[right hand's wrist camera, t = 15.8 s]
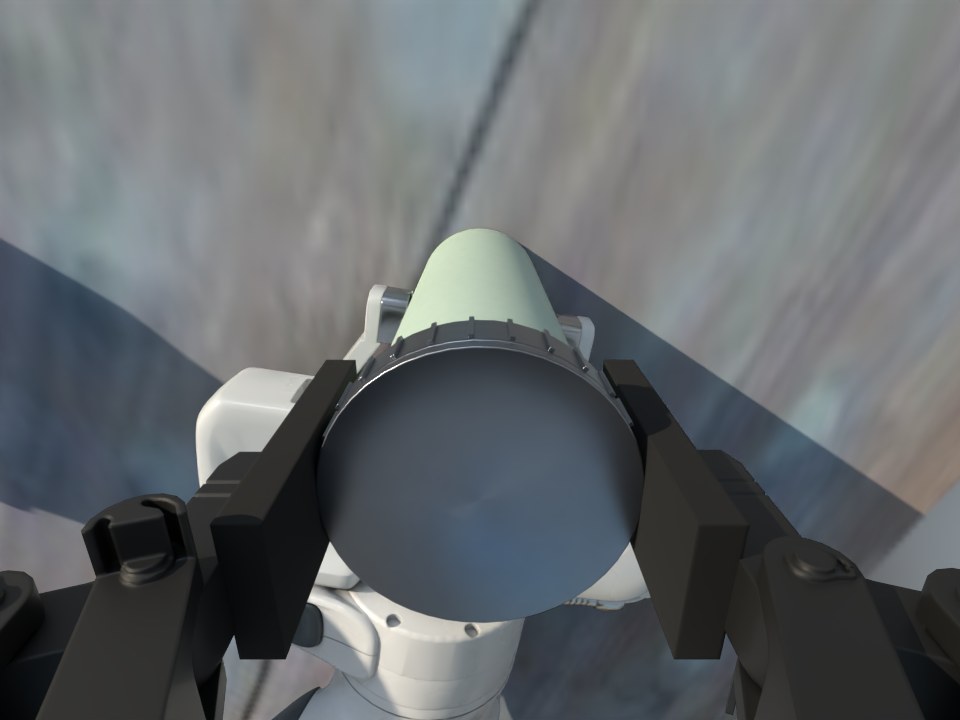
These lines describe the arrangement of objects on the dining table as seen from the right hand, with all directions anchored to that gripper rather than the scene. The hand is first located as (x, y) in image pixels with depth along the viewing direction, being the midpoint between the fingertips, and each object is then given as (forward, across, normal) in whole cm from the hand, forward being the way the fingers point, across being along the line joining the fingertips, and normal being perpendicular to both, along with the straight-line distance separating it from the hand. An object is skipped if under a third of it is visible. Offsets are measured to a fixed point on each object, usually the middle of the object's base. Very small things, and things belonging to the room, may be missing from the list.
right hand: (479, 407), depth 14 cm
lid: (-4, 0, 0) cm, 4 cm away
